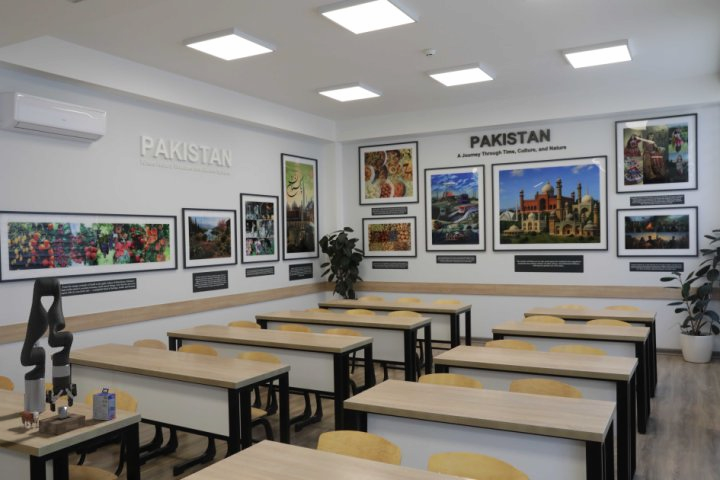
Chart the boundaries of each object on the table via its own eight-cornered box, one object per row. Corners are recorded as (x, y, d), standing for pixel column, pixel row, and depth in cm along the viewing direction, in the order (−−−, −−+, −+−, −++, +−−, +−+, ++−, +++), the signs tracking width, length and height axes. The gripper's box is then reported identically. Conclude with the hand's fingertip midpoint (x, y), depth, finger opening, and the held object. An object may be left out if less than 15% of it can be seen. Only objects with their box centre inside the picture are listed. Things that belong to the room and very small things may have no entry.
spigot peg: (56, 427, 267) (55, 408, 267) (64, 424, 270) (63, 405, 270) (61, 428, 265) (61, 409, 265) (69, 425, 269) (69, 406, 269)
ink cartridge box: (116, 417, 283) (116, 388, 283) (108, 421, 278) (107, 391, 278) (100, 416, 286) (100, 387, 286) (92, 419, 281) (91, 390, 281)
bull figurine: (34, 431, 265) (34, 413, 265) (19, 426, 272) (18, 409, 272) (43, 428, 269) (43, 411, 269) (28, 423, 276) (28, 407, 276)
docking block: (38, 431, 265) (38, 420, 265) (66, 422, 277) (66, 412, 277) (58, 435, 258) (57, 424, 258) (85, 426, 271) (85, 415, 271)
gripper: (69, 370, 276) (70, 403, 276) (41, 377, 263) (42, 412, 263) (80, 371, 272) (80, 405, 272) (51, 378, 259) (52, 414, 260)
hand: (61, 408), depth 268 cm, fingers open, 8 cm apart
